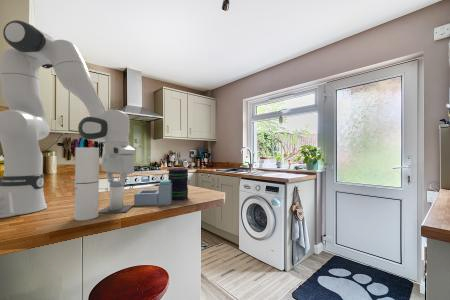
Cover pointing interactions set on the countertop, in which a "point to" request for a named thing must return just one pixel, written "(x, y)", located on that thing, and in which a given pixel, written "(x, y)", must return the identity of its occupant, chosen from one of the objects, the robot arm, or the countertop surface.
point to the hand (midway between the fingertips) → (116, 183)
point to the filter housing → (154, 196)
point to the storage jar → (179, 184)
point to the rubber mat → (124, 210)
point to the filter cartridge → (116, 195)
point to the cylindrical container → (86, 183)
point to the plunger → (165, 182)
